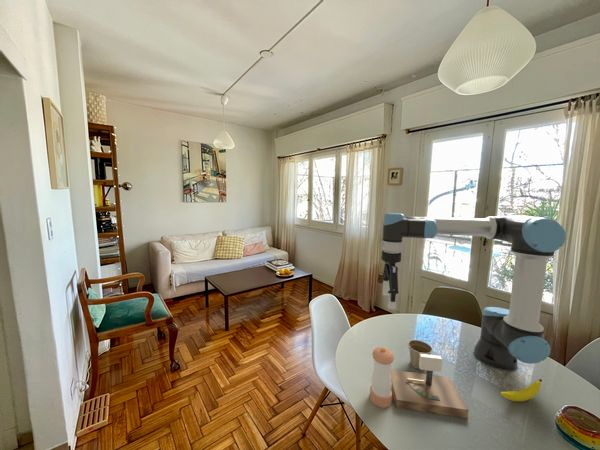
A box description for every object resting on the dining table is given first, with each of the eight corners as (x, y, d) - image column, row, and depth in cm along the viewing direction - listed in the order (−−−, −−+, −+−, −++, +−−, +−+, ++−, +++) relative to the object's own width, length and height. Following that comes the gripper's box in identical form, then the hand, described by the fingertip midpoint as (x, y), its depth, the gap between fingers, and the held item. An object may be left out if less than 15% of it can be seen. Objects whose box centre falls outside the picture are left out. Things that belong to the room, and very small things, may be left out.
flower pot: (434, 374, 100) (435, 354, 99) (409, 371, 102) (410, 351, 101) (427, 359, 109) (428, 341, 108) (404, 356, 111) (405, 338, 110)
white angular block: (437, 383, 91) (440, 355, 90) (440, 387, 89) (442, 359, 88) (406, 379, 93) (408, 352, 92) (407, 382, 91) (409, 355, 90)
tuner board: (448, 384, 95) (449, 376, 95) (467, 418, 80) (468, 409, 80) (388, 376, 99) (388, 368, 98) (396, 407, 84) (397, 398, 83)
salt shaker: (377, 410, 83) (380, 356, 81) (365, 393, 90) (368, 343, 88) (395, 405, 85) (399, 353, 83) (383, 389, 92) (386, 340, 90)
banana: (494, 402, 87) (496, 385, 86) (534, 392, 92) (536, 376, 91) (503, 409, 84) (505, 391, 83) (543, 398, 89) (546, 382, 88)
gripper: (377, 245, 113) (375, 289, 115) (387, 258, 89) (384, 314, 91) (394, 245, 112) (392, 291, 114) (409, 259, 87) (405, 316, 90)
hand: (388, 301), depth 102 cm, fingers open, 13 cm apart
